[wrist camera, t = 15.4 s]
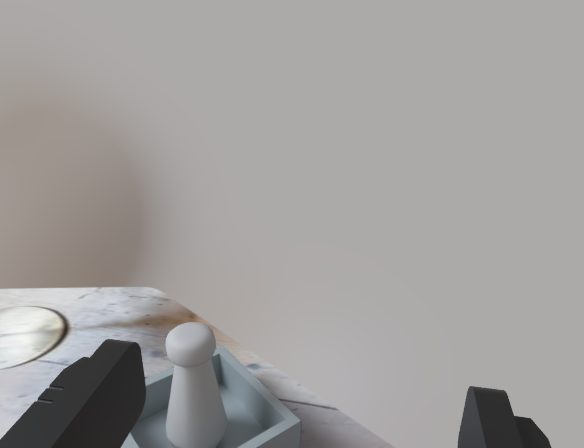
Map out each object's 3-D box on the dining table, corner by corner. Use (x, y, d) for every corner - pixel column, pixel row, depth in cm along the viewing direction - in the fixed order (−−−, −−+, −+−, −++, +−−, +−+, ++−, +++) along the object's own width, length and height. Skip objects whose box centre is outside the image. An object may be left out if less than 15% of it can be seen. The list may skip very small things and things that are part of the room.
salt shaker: (164, 470, 45) (150, 354, 40) (171, 422, 50) (159, 314, 45) (228, 464, 46) (222, 350, 40) (228, 418, 51) (223, 311, 46)
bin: (224, 380, 57) (222, 345, 55) (299, 460, 47) (300, 420, 45) (103, 438, 49) (96, 400, 47) (164, 549, 39) (158, 506, 37)
